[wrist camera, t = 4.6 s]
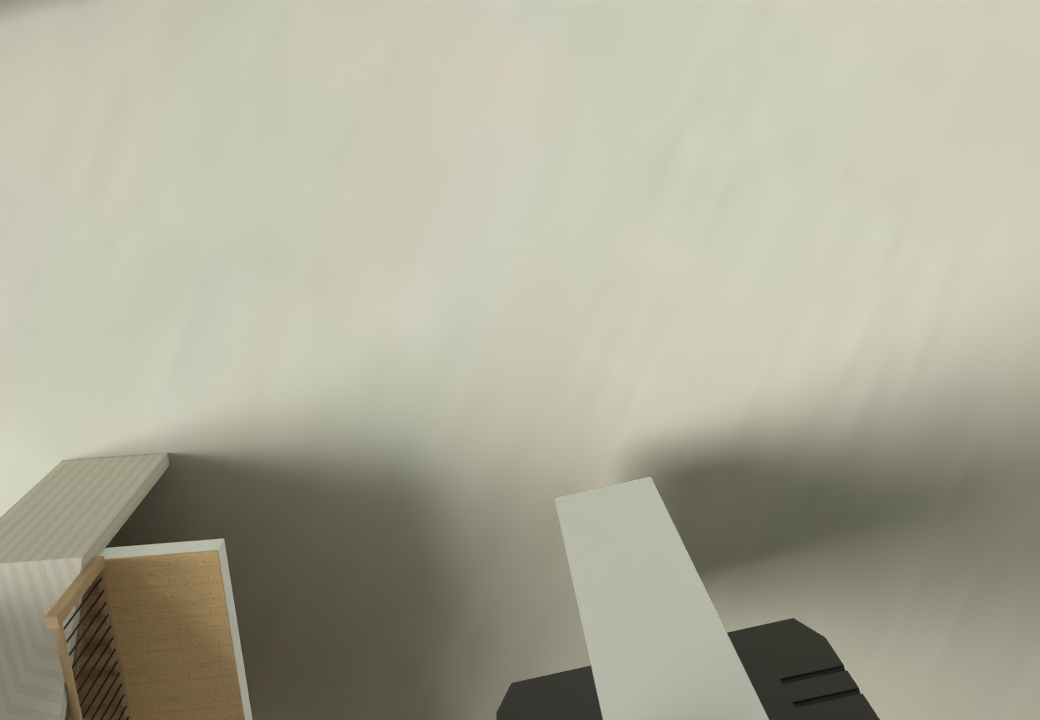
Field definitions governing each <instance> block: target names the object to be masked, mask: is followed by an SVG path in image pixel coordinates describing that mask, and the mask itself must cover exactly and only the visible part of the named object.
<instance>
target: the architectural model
mask: <svg viewBox="0 0 1040 720" xmlns="http://www.w3.org/2000/svg"><path fill="white" fill-rule="evenodd" d="M169 466H170V464H169V459H168V453H159V454H145V455H132V456H118V457H104V458H91V459H77V460H63V461H62V462H60V463H59V464H58V465H57V466H56V467H55V468H54V469H53V470H52V471H51V472H50V473H49V474H47V475H46V476H45V477H44V478H43V479H42V480H41V481H40V482H39V483H38V484H37V485H35V486H34V487H33V488H32V489H31V490H30V491H29V492H28V493H27V494H26V495H25V496H24V497H22V498H21V499H20V500H19V501H18V502H17V503H16V504H15V505H14V506H13V507H12V508H11V509H9V510H8V511H7V512H6V513H5V514H4V515H3V516H2V517H1V518H0V720H252V713H251V707H250V700H249V694H248V688H247V681H246V675H245V669H244V662H243V656H242V649H241V643H240V637H239V630H238V624H237V618H236V611H235V605H234V598H233V592H232V586H231V579H230V573H229V566H228V560H227V554H226V547H225V541H224V538H223V539H211V540H198V541H186V542H173V543H161V544H148V545H136V546H123V547H110V548H105V547H106V546H107V545H108V544H109V542H110V541H111V540H112V538H113V537H114V536H115V535H116V533H117V532H118V531H119V529H120V528H121V527H122V526H123V524H124V523H125V522H126V521H127V519H128V518H129V517H130V515H131V514H132V513H133V512H134V510H135V509H136V508H137V506H138V505H139V504H140V503H141V501H142V500H143V499H144V498H145V496H146V495H147V494H148V492H149V491H150V490H151V489H152V487H153V486H154V485H155V483H156V482H157V481H158V480H159V478H160V477H161V476H162V475H163V473H164V472H165V471H166V469H167V468H168V467H169ZM101 552H102V553H101Z"/></svg>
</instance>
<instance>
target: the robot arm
mask: <svg viewBox="0 0 1040 720" xmlns="http://www.w3.org/2000/svg"><path fill="white" fill-rule="evenodd" d="M554 500H555V504H556V509H557V514H558V518H559V523H560V527H561V532H562V536H563V541H564V545H565V550H566V554H567V559H568V563H569V568H570V572H571V577H572V581H573V586H574V591H575V595H576V600H577V604H578V609H579V613H580V618H581V622H582V627H583V631H584V636H585V640H586V645H587V649H588V654H589V659H590V663H591V666H587V667H583V668H578V669H574V670H569V671H564V672H560V673H555V674H551V675H546V676H542V677H537V678H533V679H528V680H523V681H519V682H514V683H511V685H510V687H509V689H508V691H507V693H506V695H505V697H504V699H503V701H502V703H501V705H500V707H499V709H498V711H497V713H496V715H497V720H880V719H879V718H878V716H877V715H876V713H875V712H874V710H873V709H872V707H871V706H870V704H869V703H868V701H867V700H866V698H865V697H864V695H863V694H860V691H859V688H858V686H857V685H856V683H855V682H854V680H853V679H852V677H851V676H850V674H849V673H848V671H845V669H844V665H843V663H842V662H841V660H840V659H839V657H838V656H837V654H836V653H835V651H834V650H833V648H832V647H831V645H830V644H829V642H828V641H827V639H826V638H825V637H823V636H822V635H820V634H818V633H817V632H815V631H814V630H812V629H810V628H809V627H807V626H805V625H804V624H802V623H800V622H799V621H797V620H796V619H794V618H792V619H787V620H783V621H778V622H774V623H769V624H765V625H760V626H755V627H751V628H746V629H742V630H737V631H733V632H728V633H727V632H726V630H725V628H724V626H723V624H722V622H721V620H720V618H719V616H718V614H717V612H716V610H715V608H714V606H713V603H712V601H711V599H710V597H709V595H708V593H707V591H706V589H705V587H704V585H703V583H702V581H701V579H700V577H699V575H698V573H697V571H696V568H695V566H694V564H693V562H692V560H691V558H690V556H689V554H688V552H687V550H686V548H685V546H684V544H683V542H682V540H681V538H680V536H679V534H678V531H677V529H676V527H675V525H674V523H673V521H672V519H671V517H670V515H669V513H668V511H667V509H666V507H665V505H664V503H663V501H662V499H661V497H660V494H659V492H658V490H657V488H656V486H655V484H654V482H653V480H652V478H651V477H646V478H642V479H637V480H633V481H628V482H624V483H619V484H615V485H610V486H606V487H601V488H597V489H592V490H587V491H583V492H578V493H574V494H569V495H565V496H560V497H556V498H554Z"/></svg>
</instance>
